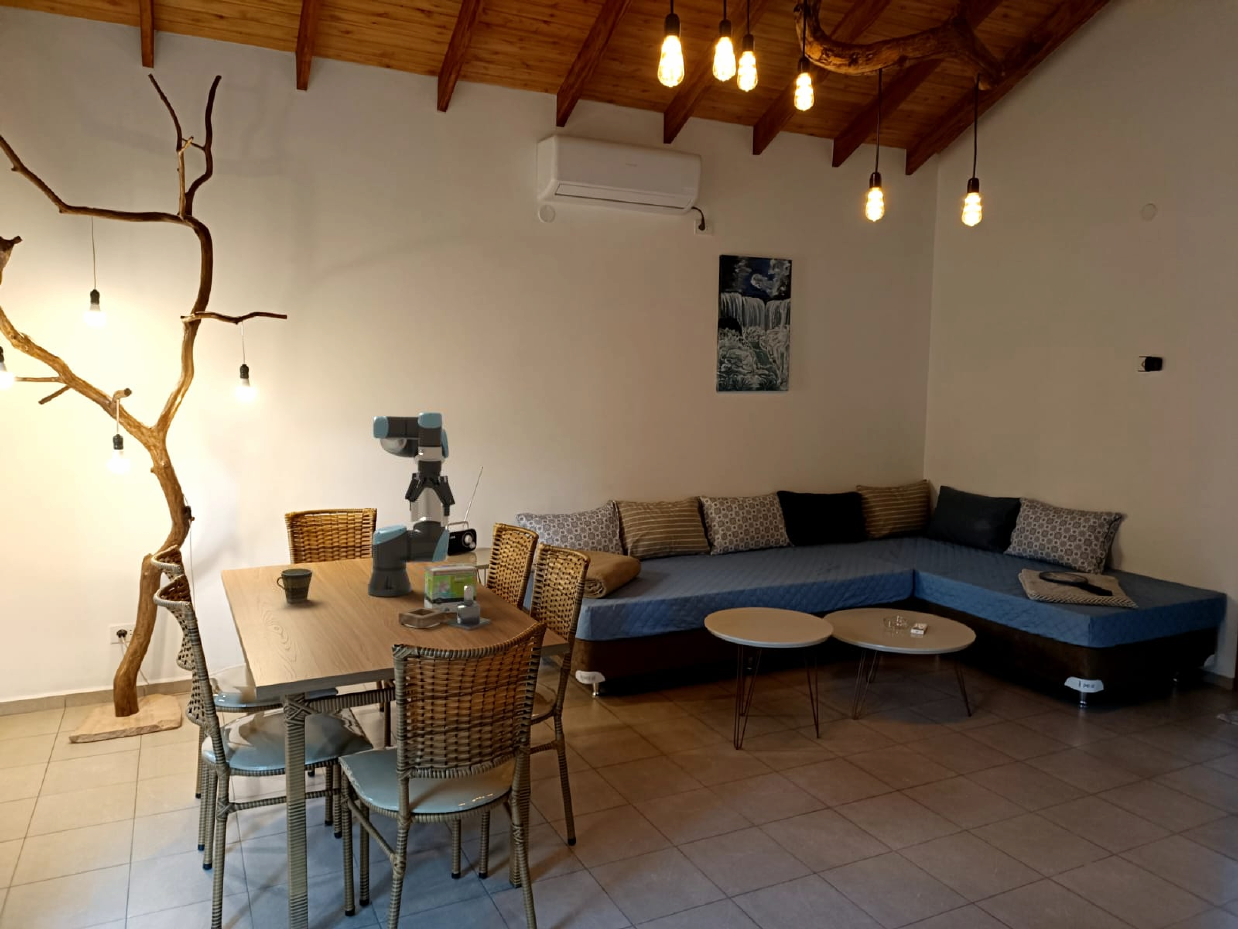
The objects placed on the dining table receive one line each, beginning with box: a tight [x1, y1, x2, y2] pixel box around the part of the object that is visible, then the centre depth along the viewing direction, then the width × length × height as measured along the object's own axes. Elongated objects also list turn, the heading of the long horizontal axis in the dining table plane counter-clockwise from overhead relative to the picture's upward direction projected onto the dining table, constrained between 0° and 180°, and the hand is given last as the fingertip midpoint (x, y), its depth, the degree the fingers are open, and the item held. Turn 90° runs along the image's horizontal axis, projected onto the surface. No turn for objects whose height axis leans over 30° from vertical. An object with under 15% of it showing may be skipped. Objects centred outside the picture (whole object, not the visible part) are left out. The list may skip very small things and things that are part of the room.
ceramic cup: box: [276, 567, 313, 604], centre depth 291 cm, size 13×10×10 cm
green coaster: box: [404, 622, 441, 629], centre depth 271 cm, size 11×11×1 cm
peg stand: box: [444, 585, 492, 631], centre depth 271 cm, size 10×10×12 cm
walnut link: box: [398, 606, 446, 629], centre depth 271 cm, size 10×10×3 cm
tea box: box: [423, 562, 478, 614], centre depth 287 cm, size 15×10×15 cm, turn 117°
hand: (429, 523), depth 284 cm, fingers open, 13 cm apart
